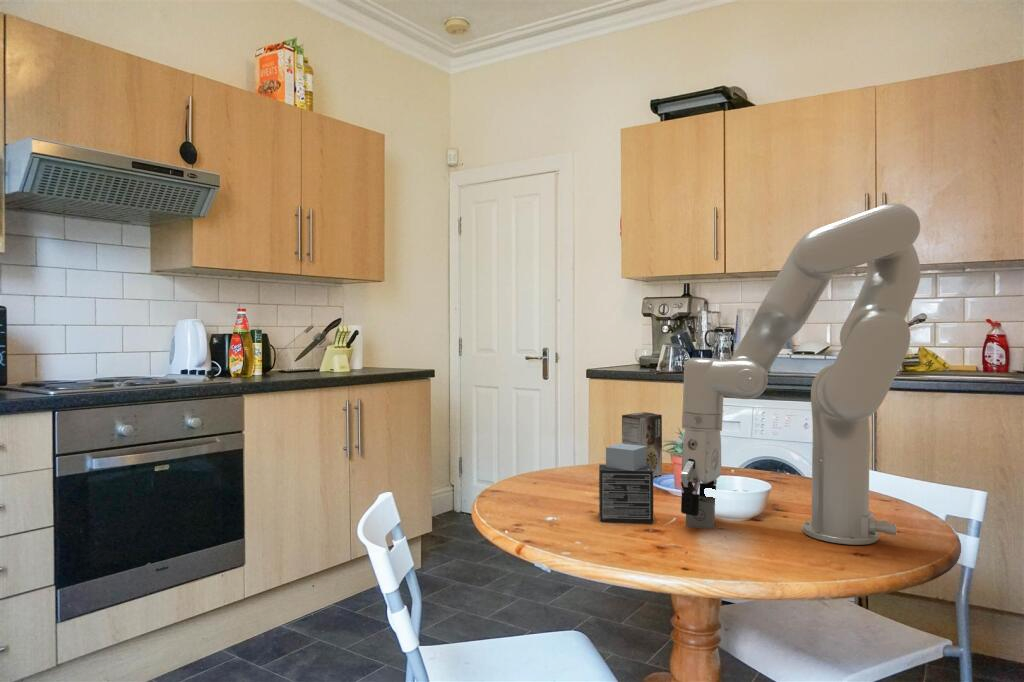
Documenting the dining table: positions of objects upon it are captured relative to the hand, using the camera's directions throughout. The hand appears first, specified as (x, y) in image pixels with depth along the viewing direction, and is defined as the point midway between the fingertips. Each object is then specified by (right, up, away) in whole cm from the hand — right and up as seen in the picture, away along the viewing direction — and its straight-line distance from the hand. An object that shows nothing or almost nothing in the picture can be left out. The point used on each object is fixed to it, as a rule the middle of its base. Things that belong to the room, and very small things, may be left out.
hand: (698, 509), depth 132 cm
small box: (-14, -3, +4) cm, 14 cm away
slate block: (-13, +8, +4) cm, 16 cm away
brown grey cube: (0, -3, 0) cm, 3 cm away
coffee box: (-3, -3, +44) cm, 44 cm away
